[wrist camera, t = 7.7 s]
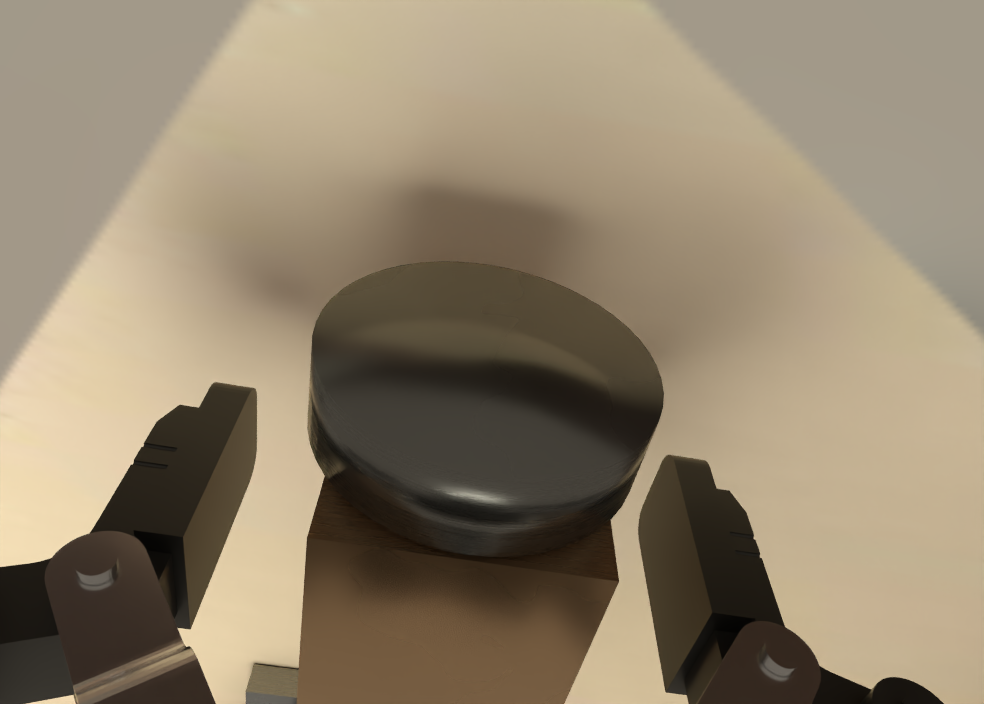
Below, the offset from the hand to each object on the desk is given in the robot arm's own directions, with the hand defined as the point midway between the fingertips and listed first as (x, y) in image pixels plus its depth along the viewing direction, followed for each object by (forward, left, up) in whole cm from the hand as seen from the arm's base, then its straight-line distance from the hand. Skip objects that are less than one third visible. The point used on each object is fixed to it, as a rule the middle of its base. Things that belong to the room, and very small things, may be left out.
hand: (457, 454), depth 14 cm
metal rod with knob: (0, +6, -1) cm, 6 cm away
